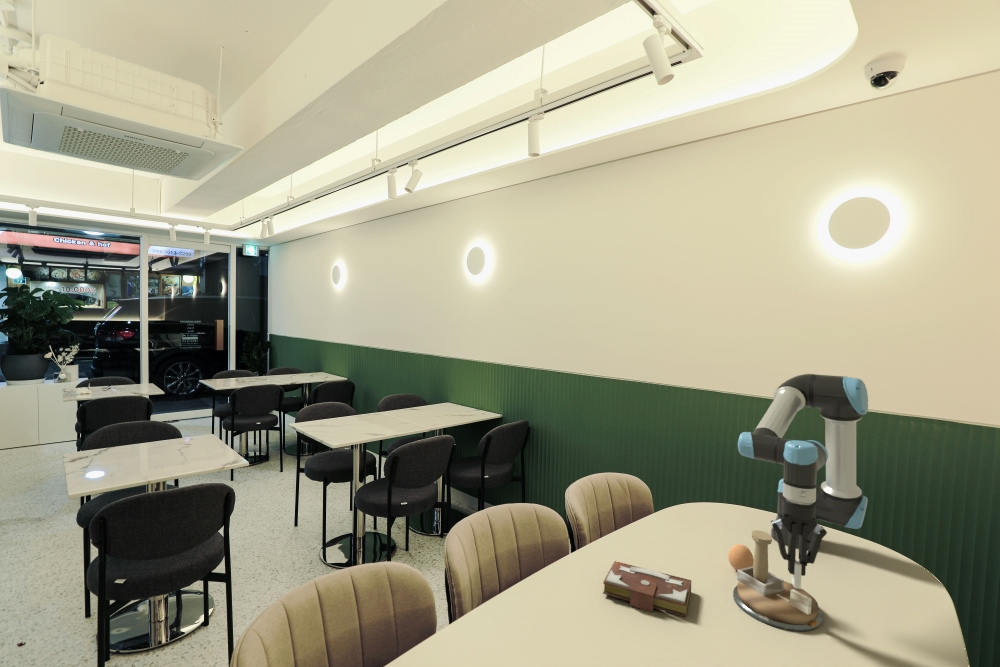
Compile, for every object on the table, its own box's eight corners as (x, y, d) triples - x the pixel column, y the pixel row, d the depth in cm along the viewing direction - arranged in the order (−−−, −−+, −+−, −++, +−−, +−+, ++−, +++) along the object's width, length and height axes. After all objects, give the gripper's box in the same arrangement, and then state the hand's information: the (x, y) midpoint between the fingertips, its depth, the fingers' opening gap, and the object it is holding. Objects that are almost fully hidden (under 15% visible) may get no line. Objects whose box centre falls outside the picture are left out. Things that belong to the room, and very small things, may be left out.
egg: (747, 579, 149) (748, 552, 148) (724, 569, 154) (725, 544, 154) (756, 571, 154) (757, 545, 153) (733, 562, 159) (734, 537, 159)
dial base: (748, 576, 150) (748, 571, 150) (830, 607, 135) (831, 602, 135) (721, 604, 135) (721, 599, 135) (811, 643, 119) (811, 637, 119)
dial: (721, 590, 140) (722, 570, 140) (768, 577, 148) (769, 558, 148) (785, 631, 122) (786, 608, 122) (835, 614, 129) (836, 592, 129)
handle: (765, 580, 142) (767, 531, 142) (772, 592, 136) (774, 541, 135) (748, 578, 143) (749, 529, 143) (754, 589, 137) (756, 538, 137)
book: (691, 593, 141) (691, 576, 141) (685, 622, 127) (686, 603, 127) (614, 572, 152) (614, 557, 152) (601, 597, 138) (602, 580, 138)
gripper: (775, 502, 125) (772, 588, 126) (832, 508, 121) (829, 598, 122) (768, 491, 132) (765, 574, 133) (822, 497, 128) (819, 582, 129)
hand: (796, 585), depth 127 cm, fingers closed
